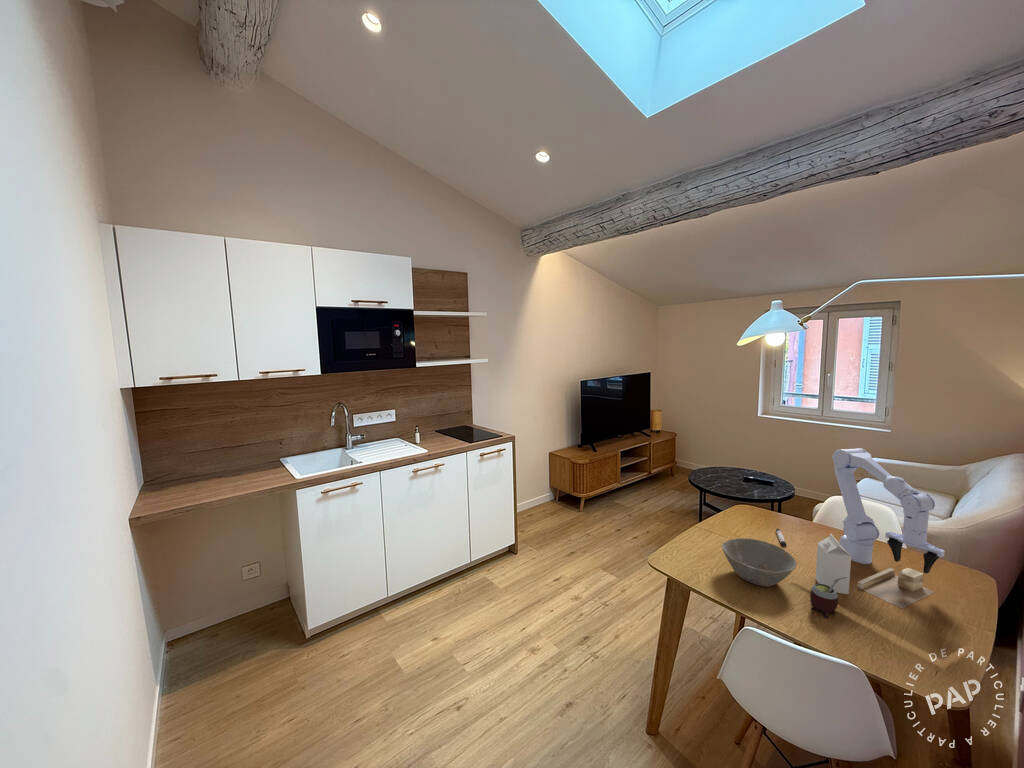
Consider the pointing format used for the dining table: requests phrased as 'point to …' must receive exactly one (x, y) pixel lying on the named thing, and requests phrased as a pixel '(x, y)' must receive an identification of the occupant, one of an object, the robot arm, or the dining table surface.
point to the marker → (781, 537)
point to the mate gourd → (824, 598)
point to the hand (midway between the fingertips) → (911, 566)
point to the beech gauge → (910, 579)
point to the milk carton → (833, 564)
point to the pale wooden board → (891, 589)
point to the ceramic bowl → (758, 561)
